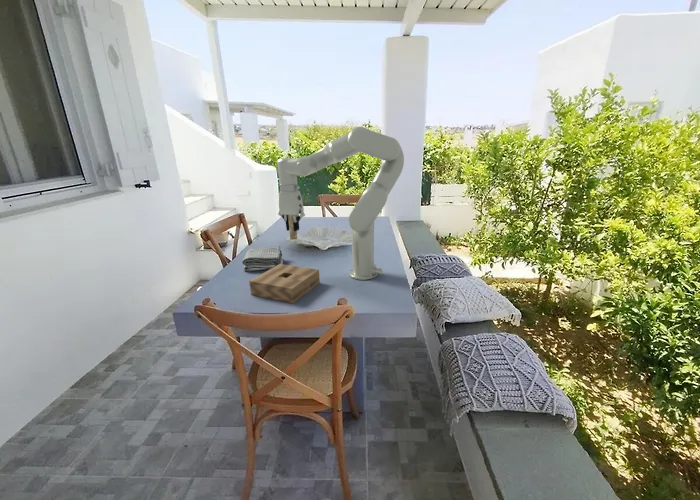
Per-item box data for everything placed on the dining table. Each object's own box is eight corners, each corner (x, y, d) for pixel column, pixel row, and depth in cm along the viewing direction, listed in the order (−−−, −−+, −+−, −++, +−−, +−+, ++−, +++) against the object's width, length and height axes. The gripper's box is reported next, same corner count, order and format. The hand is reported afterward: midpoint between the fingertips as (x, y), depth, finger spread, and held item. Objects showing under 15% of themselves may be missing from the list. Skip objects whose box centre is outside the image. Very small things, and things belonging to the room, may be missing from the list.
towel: (247, 261, 166) (245, 247, 164) (283, 259, 169) (282, 244, 166) (243, 272, 152) (240, 257, 149) (282, 269, 154) (281, 254, 152)
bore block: (319, 282, 138) (318, 269, 136) (293, 303, 120) (291, 288, 119) (281, 276, 146) (280, 263, 144) (251, 294, 129) (249, 280, 127)
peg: (298, 237, 145) (296, 213, 141) (294, 239, 142) (292, 214, 139) (292, 237, 146) (290, 213, 143) (288, 238, 143) (286, 214, 140)
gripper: (310, 187, 137) (313, 229, 143) (278, 186, 144) (282, 227, 149) (300, 190, 131) (304, 233, 136) (267, 189, 137) (272, 231, 143)
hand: (292, 229), depth 143 cm, fingers closed on peg, 3 cm apart
